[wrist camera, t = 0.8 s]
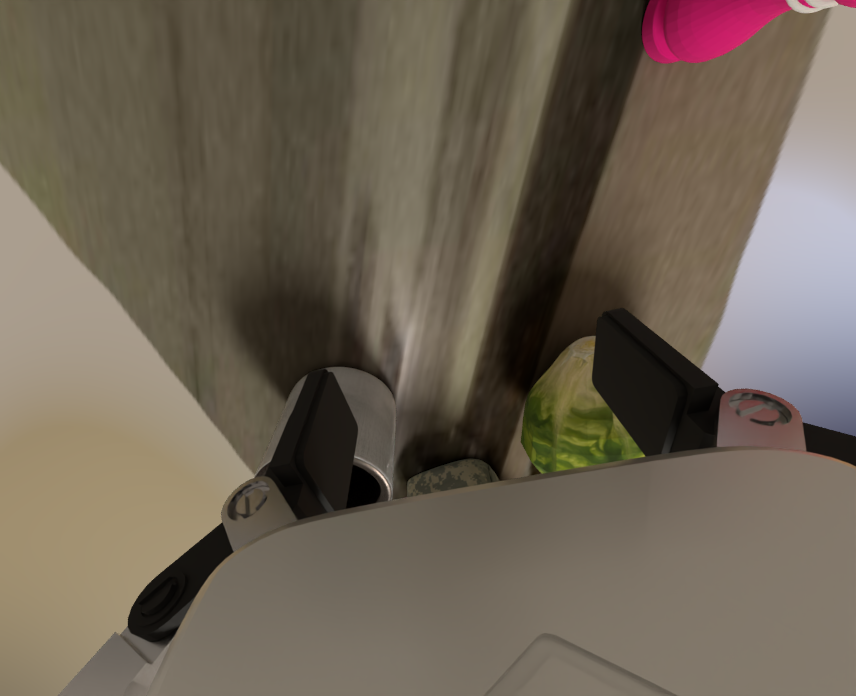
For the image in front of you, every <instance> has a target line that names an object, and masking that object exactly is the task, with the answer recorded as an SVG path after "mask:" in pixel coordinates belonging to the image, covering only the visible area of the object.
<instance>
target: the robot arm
mask: <svg viewBox="0 0 856 696" xmlns="http://www.w3.org/2000/svg"><path fill="white" fill-rule="evenodd" d="M592 383H593V385H594V387H595V389H596V390H597V392H598V393H599V394H600V396H601V397H602V398H603V400H604V401H605V402H606V404H607V405H608V406H609V408H610V409H611V411H612V412H613V413H614V415H615V416H616V417H617V419H618V420H619V421H620V423H621V424H622V425H623V427H624V428H625V429H626V431H627V432H628V433H629V435H630V436H631V437H632V439H633V440H634V442H635V443H636V444H637V446H638V447H639V448H640V450H641V451H642V452H643V454H644V455H645V456H646V457H640V458H634V459H628V460H622V461H616V462H610V463H604V464H598V465H592V466H586V467H580V468H574V469H568V470H562V471H556V472H550V473H544V474H538V475H533V476H527V477H521V478H515V479H510V480H504V481H498V482H492V483H486V484H481V485H475V486H469V487H464V488H458V489H452V490H447V491H441V492H435V493H430V494H424V495H419V496H413V497H407V498H402V499H396V500H391V501H385V502H379V503H374V504H369V505H364V506H359V507H354V508H349V509H346V504H347V498H348V492H349V486H350V480H351V473H352V467H353V461H354V455H355V449H356V443H357V437H358V425H357V422H356V420H355V418H354V416H353V413H352V411H351V409H350V407H349V405H348V403H347V401H346V399H345V396H344V394H343V392H342V390H341V388H340V386H339V384H338V382H337V379H336V377H335V375H334V373H333V372H328V370H327V369H321V370H316V371H311V372H309V373H308V375H307V377H306V380H305V382H304V385H303V387H302V389H301V392H300V394H299V397H298V399H297V402H296V404H295V406H294V409H293V411H292V413H291V415H290V416H289V418H288V421H287V423H286V426H285V428H284V430H283V433H282V435H281V438H280V440H279V443H278V445H277V447H276V450H275V452H274V455H273V457H272V459H271V462H270V464H269V467H268V469H267V471H266V474H265V476H261V477H255V478H253V479H250V480H248V481H246V482H245V483H243V484H241V485H240V486H239V487H238V488H237V489H235V490H234V491H233V492H232V494H231V495H230V496H229V497H228V499H227V500H226V502H225V504H224V505H223V508H222V512H221V518H222V523H221V524H220V525H219V526H217V527H216V528H215V529H214V530H212V531H211V532H210V533H209V534H208V535H206V536H205V537H204V538H203V539H201V540H200V541H199V542H198V543H197V544H195V545H194V546H193V547H192V548H191V549H189V550H188V551H187V552H186V553H184V554H183V555H182V556H181V557H180V558H179V559H177V560H176V561H175V562H174V563H172V564H171V565H170V566H169V567H167V568H166V569H165V570H164V571H163V572H161V573H160V574H159V575H158V576H157V577H155V578H154V579H153V580H152V581H151V582H150V583H149V584H148V585H147V586H146V587H145V589H144V590H143V591H142V592H141V594H140V595H139V596H138V598H137V599H136V601H135V603H134V605H133V606H132V608H131V611H130V614H129V617H128V626H127V628H126V629H125V630H124V631H123V632H122V633H121V634H119V633H116V632H115V633H114V634H113V635H112V636H111V638H110V639H109V640H108V641H107V642H106V643H105V644H104V645H103V646H102V647H101V649H99V651H98V652H97V653H96V654H95V655H94V656H93V657H92V658H91V659H90V661H89V662H88V663H87V664H86V665H85V666H84V667H83V668H82V669H81V671H80V672H79V673H78V674H77V675H76V676H75V677H74V678H73V679H72V680H71V682H70V683H69V684H68V685H67V686H66V687H65V688H64V689H63V691H62V692H61V693H60V694H59V695H58V696H856V437H855V436H852V435H848V434H844V433H840V432H837V431H833V430H829V429H826V428H822V427H818V426H814V425H811V424H807V423H803V422H802V418H801V415H800V413H799V411H798V410H797V409H796V408H795V407H794V406H793V405H792V404H790V403H789V402H787V401H786V400H784V399H782V398H780V397H778V396H776V395H773V394H771V393H767V392H763V391H760V390H753V389H734V390H730V391H728V392H724V391H723V390H722V389H721V388H719V387H718V383H717V382H715V381H714V380H713V379H711V378H710V377H709V376H708V375H707V374H705V373H704V372H703V371H702V370H700V369H699V368H698V367H697V366H695V365H694V364H693V363H692V362H690V361H689V360H688V359H687V358H685V357H684V356H683V355H682V354H680V353H679V352H678V351H677V350H675V349H674V348H673V347H672V346H670V345H669V344H668V343H667V342H665V341H664V340H663V339H662V338H660V337H659V336H658V335H657V334H655V333H654V332H653V331H652V330H650V329H649V328H648V327H647V326H645V325H644V324H643V323H642V322H640V321H639V320H638V319H637V318H635V317H634V316H633V315H632V314H630V313H629V312H628V311H627V310H625V309H624V308H620V309H615V310H610V311H605V312H603V314H602V317H599V318H598V319H597V327H596V338H595V348H594V359H593V369H592Z"/></svg>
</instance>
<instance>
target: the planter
mask: <svg viewBox="0 0 856 696" xmlns="http://www.w3.org/2000/svg"><path fill="white" fill-rule="evenodd" d="M323 369H327V370H328V372H333V373H334V375H335V377H336V379H337V382H338V384H339V386H340V388H341V390H342V392H343V394H344V396H345V399H346V401H347V403H348V405H349V407H350V409H351V411H352V413H353V416H354V418H355V420H356V422H357V425H358V437H357V443H356V449H355V455H354V461H353V467H352V473H351V480H350V486H349V492H348V498H347V504H346V509H349V508H354V507H359V506H364V505H369V504H374V503H379V502H385V501H391V500H392V491H393V468H394V448H395V432H396V404H395V400H394V397H393V395H392V393H391V391H390V390H389V389H388V387H387V386H386V385H385V384H384V383H383V382H382V381H380V380H379V379H378V378H376V377H374V376H373V375H371V374H369V373H367V372H364V371H361V370H358V369H354V368H348V367H329V368H323ZM319 370H321V369H319ZM307 375H308V374H307ZM307 375H306V376H304V377H303V378H302V379H300V380H299V381H298V383H297V384H296V385H295V386H294V388H293V389H292V391H291V393H290V395H289V397H288V399H287V402H286V404H285V406H284V409H283V411H282V414H281V416H280V418H279V421H278V423H277V426H276V428H275V430H274V433H273V435H272V437H271V440H270V442H269V445H268V447H267V449H266V452H265V454H264V456H263V458H262V461H261V463H260V465H259V468H258V470H257V472H256V474H255V477H261V476H265V474H266V471H267V469H268V467H269V464H270V462H271V459H272V457H273V455H274V452H275V450H276V447H277V445H278V443H279V440H280V438H281V435H282V433H283V430H284V428H285V426H286V423H287V421H288V418H289V416H290V415H291V413H292V411H293V409H294V406H295V404H296V402H297V399H298V397H299V394H300V392H301V389H302V387H303V385H304V382H305V380H306V377H307ZM255 477H254V478H255Z"/></svg>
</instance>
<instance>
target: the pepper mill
mask: <svg viewBox="0 0 856 696" xmlns="http://www.w3.org/2000/svg"><path fill="white" fill-rule="evenodd" d="M839 4H841V5H844V6H848V7H853V8H856V0H650V2H649V4H648V6H647V9H646V12H645V16H644V20H643V25H642V40H643V44H644V48H645V50H646V52H647V54H648V55H649V56H650V57H651V58H652V59H653V60H654V61H656V62H660V63H673V62H677V61H680V60H683V61H685V62H690V63H699V62H704V61H707V60H710V59H713V58H716V57H718V56H721V55H724V54H725V53H727V52H729V51H731V50H733V49H734V48H736V47H737V46H739V45H741V44H742V43H744V42H745V41H746V40H748V39H749V38H750V37H751V36H753V35H754V34H755V33H756V32H757V31H758V30H760V29H761V28H762V27H763V26H764V25H766V24H767V23H768V22H769V21H771V20H772V19H774V18H775V17H777V16H779V15H780V14H782V13H784V12H786V11H788V10H791V9H793V10H795V11H797V12H800V13H812V12H816V11H819V10H822V9H824V8H829V7H833V6H836V5H839Z"/></svg>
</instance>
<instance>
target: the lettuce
mask: <svg viewBox="0 0 856 696" xmlns="http://www.w3.org/2000/svg"><path fill="white" fill-rule="evenodd" d="M595 338H596V336H588V337H584V338H581V339H578V340H577V341H575V342H574V343H572V344H571V345H570V346H568V347H567V348H566V349H565V350H564V351H563V352H562V353H561V354H560V355H559V356H558V358H557V359H556V360H555V362H554V363H553V364H552V366H551V367H550V368H549V369H548V370H547V371H546V372H545V373H544V374H543V375H542V376H541V378H540V379H539V380H538V381H537V382H536V383H535V385H534V386H533V388H532V389H531V391H530V392H529V394H528V397H527V400H526V403H525V410H524V416H523V427H522V436H521V443H522V445H523V447H524V449H525V451H526V453H527V454H528V456H529V458H530V460H531V462H532V463H533V464H534V465H535V466H536V468H537V469H538V470H539V471H540V472H541V473H543V474H544V473H550V472H556V471H562V470H568V469H574V468H580V467H586V466H592V465H598V464H604V463H610V462H616V461H622V460H628V459H634V458H640V457H646V456H645V455H644V454H643V452H642V451H641V450H640V448H639V447H638V446H637V444H636V443H635V442H634V440H633V439H632V437H631V436H630V435H629V433H628V432H627V431H626V429H625V428H624V427H623V425H622V424H621V423H620V421H619V420H618V419H617V417H616V416H615V415H614V413H613V412H612V411H611V409H610V408H609V406H608V405H607V404H606V402H605V401H604V400H603V398H602V397H601V396H600V394H599V393H598V392H597V390H596V389H595V387H594V385H593V383H592V369H593V359H594V348H595Z"/></svg>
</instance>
